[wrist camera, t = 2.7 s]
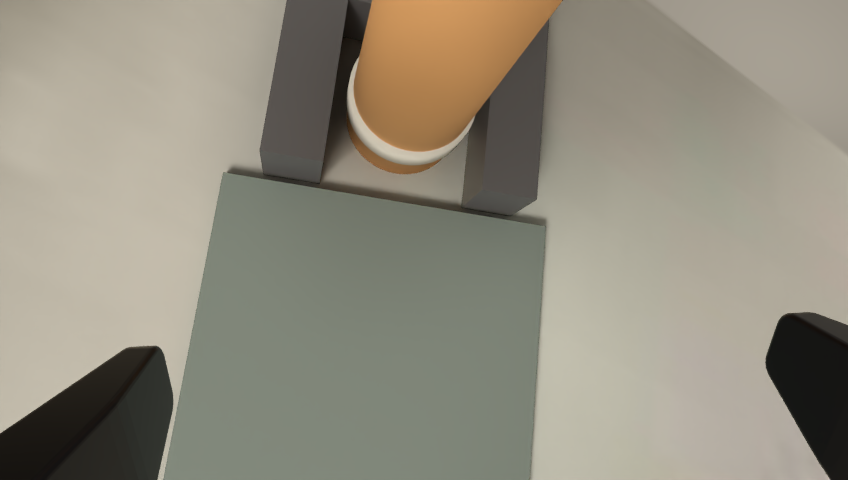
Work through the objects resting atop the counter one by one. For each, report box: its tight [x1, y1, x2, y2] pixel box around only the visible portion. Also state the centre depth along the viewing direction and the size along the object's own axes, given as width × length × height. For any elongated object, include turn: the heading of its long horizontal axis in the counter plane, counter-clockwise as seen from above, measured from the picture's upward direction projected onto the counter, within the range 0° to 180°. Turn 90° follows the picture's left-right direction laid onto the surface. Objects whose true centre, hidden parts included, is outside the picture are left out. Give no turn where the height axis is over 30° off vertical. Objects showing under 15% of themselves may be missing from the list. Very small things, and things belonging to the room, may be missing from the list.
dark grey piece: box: [260, 0, 549, 216], centre depth 21 cm, size 8×9×2 cm
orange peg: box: [346, 0, 563, 174], centre depth 16 cm, size 4×4×13 cm
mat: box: [163, 172, 546, 480], centre depth 20 cm, size 14×12×1 cm
